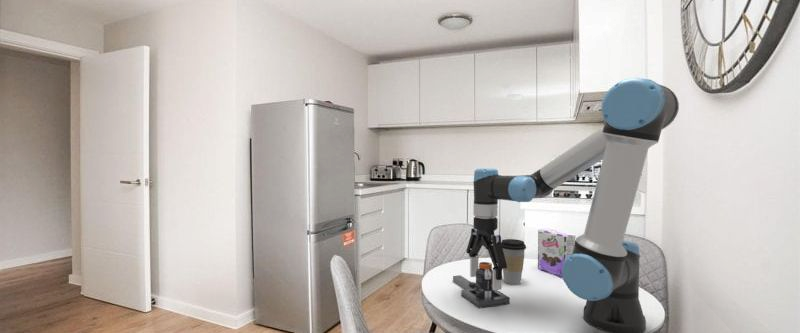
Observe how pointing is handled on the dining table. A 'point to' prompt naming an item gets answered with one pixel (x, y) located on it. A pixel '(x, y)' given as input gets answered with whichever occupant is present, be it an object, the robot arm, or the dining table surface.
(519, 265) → the coffee cup
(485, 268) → the pill bottle
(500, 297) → the square metal pan
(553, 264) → the candy box
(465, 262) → the dining table surface
